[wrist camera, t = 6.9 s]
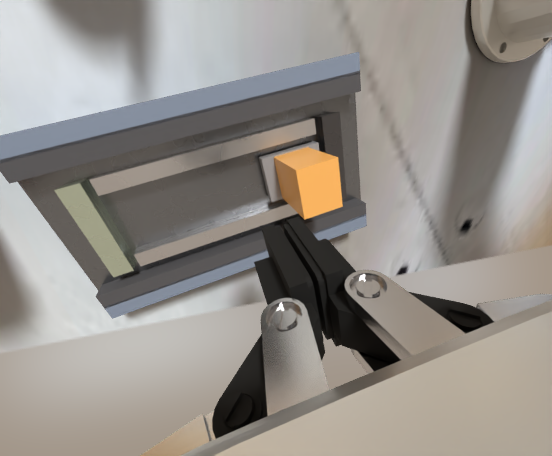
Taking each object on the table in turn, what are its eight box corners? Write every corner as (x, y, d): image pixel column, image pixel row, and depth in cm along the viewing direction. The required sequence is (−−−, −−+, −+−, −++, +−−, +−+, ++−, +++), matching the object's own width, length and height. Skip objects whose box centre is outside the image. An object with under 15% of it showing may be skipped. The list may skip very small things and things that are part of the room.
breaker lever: (313, 141, 22) (351, 151, 17) (318, 182, 24) (355, 203, 18) (258, 157, 21) (280, 173, 16) (268, 198, 23) (291, 225, 18)
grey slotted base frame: (343, 57, 21) (364, 50, 19) (353, 213, 29) (370, 224, 26) (2, 137, 17) (-32, 143, 15) (115, 297, 24) (106, 320, 22)
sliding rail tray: (347, 55, 20) (359, 51, 19) (357, 219, 27) (366, 225, 26) (-5, 138, 16) (-23, 141, 14) (117, 306, 23) (112, 318, 22)
